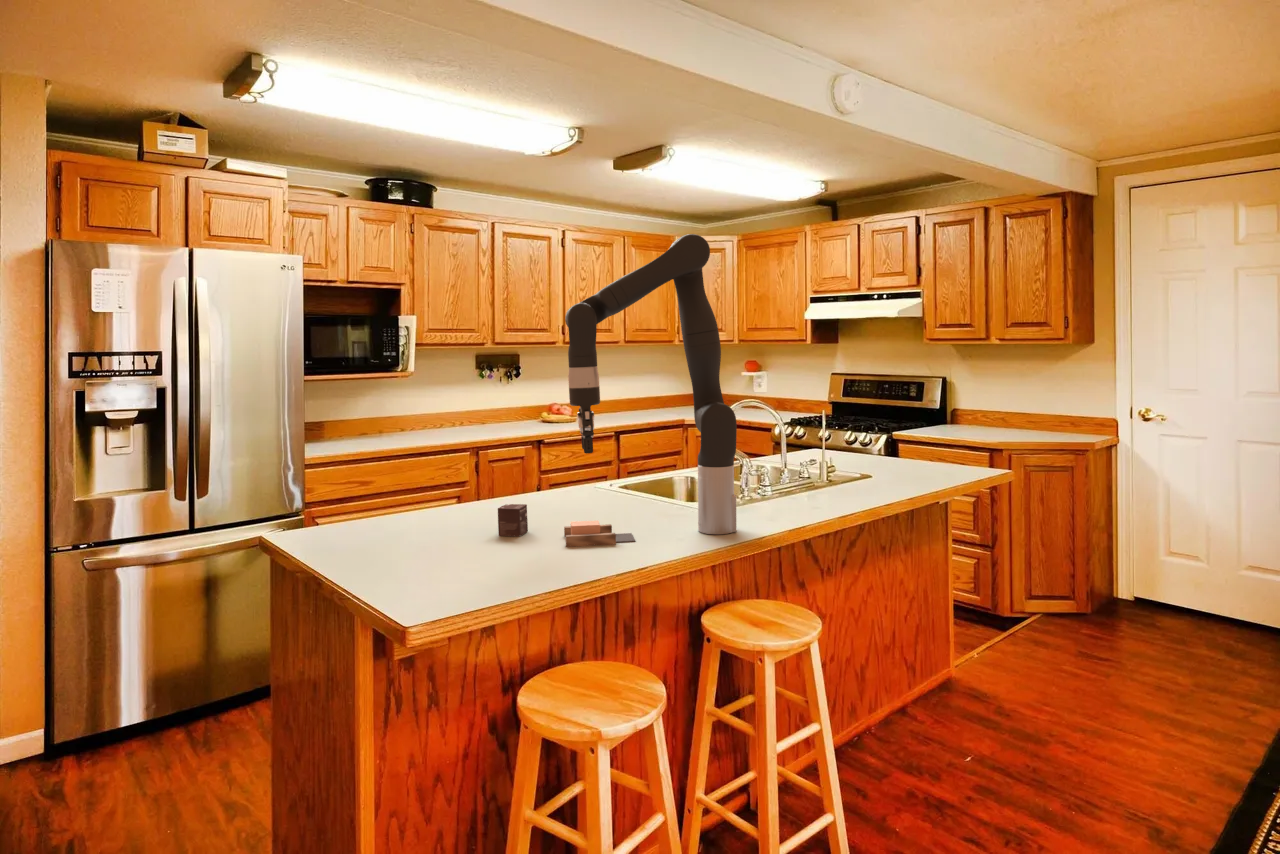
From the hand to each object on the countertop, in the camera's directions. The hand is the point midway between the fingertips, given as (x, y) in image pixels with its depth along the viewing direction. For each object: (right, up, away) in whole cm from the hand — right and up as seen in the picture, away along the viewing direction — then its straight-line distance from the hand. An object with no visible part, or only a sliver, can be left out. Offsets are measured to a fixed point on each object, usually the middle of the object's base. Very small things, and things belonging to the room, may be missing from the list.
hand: (587, 451), depth 187 cm
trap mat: (+9, -22, +2) cm, 24 cm away
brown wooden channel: (0, -22, +1) cm, 22 cm away
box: (-20, -22, +9) cm, 31 cm away
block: (-1, -22, +1) cm, 22 cm away
